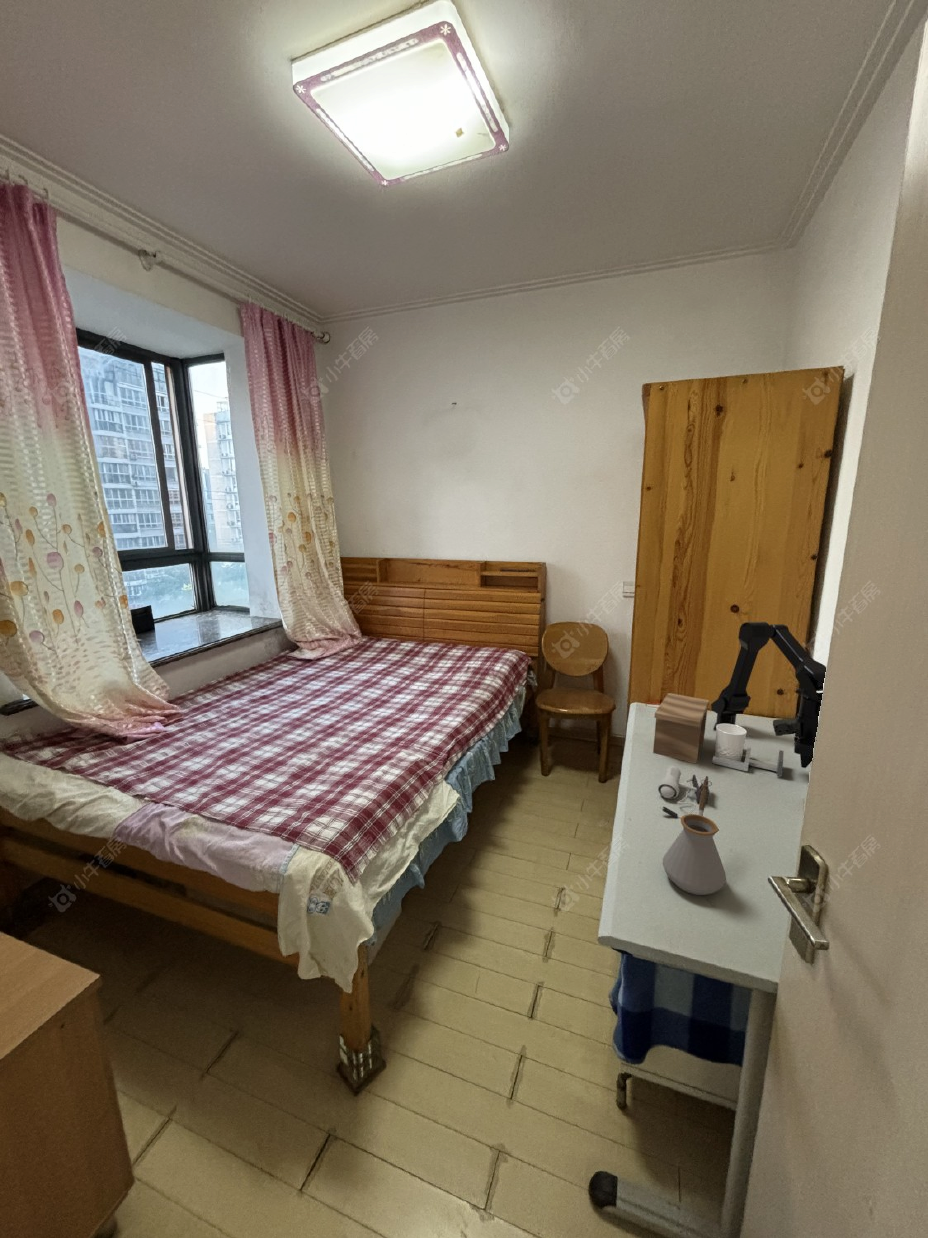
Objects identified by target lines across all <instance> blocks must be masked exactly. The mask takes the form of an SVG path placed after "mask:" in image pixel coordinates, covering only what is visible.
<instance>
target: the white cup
mask: <svg viewBox="0 0 928 1238" xmlns="http://www.w3.org/2000/svg"><path fill="white" fill-rule="evenodd" d="M747 733H748V731H747V729H745V728H744V727H742V726H740V725H737V724H735V725H733V724H718V725H717V726H716V730H715V746H714V749H715V751H714V752H715V753H714V756H718V757H722V758H726V759H731V760H735V761H739V762H742V754H743V749H745V744H746V738H747Z"/></svg>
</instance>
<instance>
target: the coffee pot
mask: <svg viewBox="0 0 928 1238" xmlns="http://www.w3.org/2000/svg"><path fill="white" fill-rule="evenodd" d="M700 780H701V781H704V782H703V783H701V784H703V786H702V789H703V790H702V792H701V795H700V800H699V803H698V804H699V806H698V808H699V809H698V814H697V813H695V814H694V813H691V814H688V813H687V814H685V815H682V816H683V817H682V818H680V824H681V825H682V826H683V828H682V830H681V832H680V833H679V835H677V837H676V839H675V840H674V842H672V844H671V845H670V847H669V848H668V849H667V851H666V852H665V854H664V856H663V858H662V866H663V868H664V872H665V874H666V875H667V876H668V878H669V879H670V881H672V882H673V884H675V886H677V887H678V888H679V889H680V890H682V891H684V892H686V893H689V894H692V895H695V896H707V895H711V894H713V893H717V892H719V891H720V889H722V888H723V887H724V885H725V884H726V881H727V875H726V871H725V868H724V865H723V862H722V859H721V856H720V855H719V854H720V853H719V851H718V849H717V845H716V843H715V840H714V838H713V837H714V836H715V835H716V834H717V833H718V832H720V829H719V827H718V826H717V824H716V823H715V822H714V821H713V820H711V819H710V818H708V817H706V816H703V815H704V811H705V807H706V804H705V803H706V799H707V790H708V787H711V786H712V785H713V783H712V782H711V781H710V780H709V779H708V780H707V779H706V778H704V779H700ZM709 783H710V784H709ZM707 786H708V787H707Z"/></svg>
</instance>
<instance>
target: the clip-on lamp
mask: <svg viewBox="0 0 928 1238" xmlns="http://www.w3.org/2000/svg"><path fill="white" fill-rule="evenodd" d="M681 775H682V772H681V770H680V769H679V768H678V767H677V766H674V765H670V766H668V767H667V768H666V771H665V773H664V776H663V778H662V779H661V780H660V781H659V783H658V785H657V790H658V794H660V796H662V797H663V798H665V799H668V800H673V799H676V798H677V797H678V796H679V794H680V787H681V788H683V789H686V795H685V797H684V798H683V799H680V800H678V801H677V802H676V803H677V805H678V804H679V805H694V807H693V809H692V810H691V811H690V812H689V813H687V814H693V812H694V811H695V809H696V807H697V804H700V795H701V792H702V790H703V789H702V786H703V784H701V783H703V782H704V781H701V780H702V779H700V778H698V777H697V776H696V774H692V778H690V779H686V783H689V784H686V783H682V782H680V781H681V780H680V778H681ZM705 779H707V780H708V781H709V776H707V775H706V776H705ZM707 787H708V790H707V799H706V803H705V805H707V804H708V801H709V796H710V792H711V791H710V788H709V787H710V786H707ZM691 791H693V792H694V794H695V797H696V799H695V801H696V803H695V802H693V801H686V799H688V794H690V793H691ZM659 809H662V812H664V813H665V814H667V815H669V816H671V817H672V818H675V819H681V818H682V817H683V816H684V815H682V816H681V815H680V816H679V815H678V813H677V812H675V811H673V810H671V809H669V808H668V807H667V806H666V807H665V806H659Z"/></svg>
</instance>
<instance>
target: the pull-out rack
mask: <svg viewBox="0 0 928 1238" xmlns="http://www.w3.org/2000/svg"><path fill="white" fill-rule="evenodd" d="M778 751H779V752H778V757H777V758H778V759H777V763H776V764H773V763H769V762H764V761H760V760H755V759H751V752H752V748H751V747H747V748H744V749H743V754H742V756H743V757H745V759H744V762H743V761H741V762H739V761H735V760H731V759H726V758H722V757H718V756H715V755H713V756H712V764H716V765H719V766H722V767H723V766H725V767H728V768H731V769H736V770H741V771H744V772H748V771H749V766H751V767H756V768H759V769H765V770H769V771H773V772H776V777H779V778H782V773H783V765H784V750H782V749H781V750H780V749H779V750H778Z"/></svg>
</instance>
